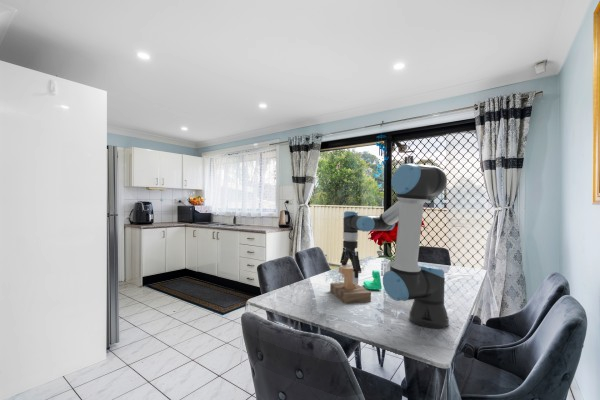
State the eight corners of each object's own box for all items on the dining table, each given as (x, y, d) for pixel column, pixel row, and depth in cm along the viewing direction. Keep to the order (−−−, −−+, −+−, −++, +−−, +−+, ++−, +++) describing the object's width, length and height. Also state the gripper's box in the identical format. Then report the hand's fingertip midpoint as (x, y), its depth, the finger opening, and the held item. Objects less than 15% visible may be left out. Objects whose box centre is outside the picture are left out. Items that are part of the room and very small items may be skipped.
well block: (370, 301, 143) (370, 292, 143) (345, 303, 139) (345, 294, 139) (353, 289, 162) (353, 281, 162) (330, 291, 159) (330, 283, 159)
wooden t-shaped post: (360, 296, 150) (361, 268, 150) (341, 298, 147) (342, 269, 147) (357, 294, 154) (357, 266, 155) (338, 295, 151) (338, 267, 152)
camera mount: (363, 285, 173) (363, 268, 173) (375, 285, 173) (375, 268, 173) (368, 291, 161) (368, 272, 161) (381, 291, 161) (381, 273, 161)
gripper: (368, 243, 140) (367, 286, 140) (347, 237, 164) (346, 274, 164) (354, 243, 138) (353, 287, 138) (334, 237, 162) (334, 275, 162)
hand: (349, 280), depth 151 cm, fingers open, 13 cm apart
